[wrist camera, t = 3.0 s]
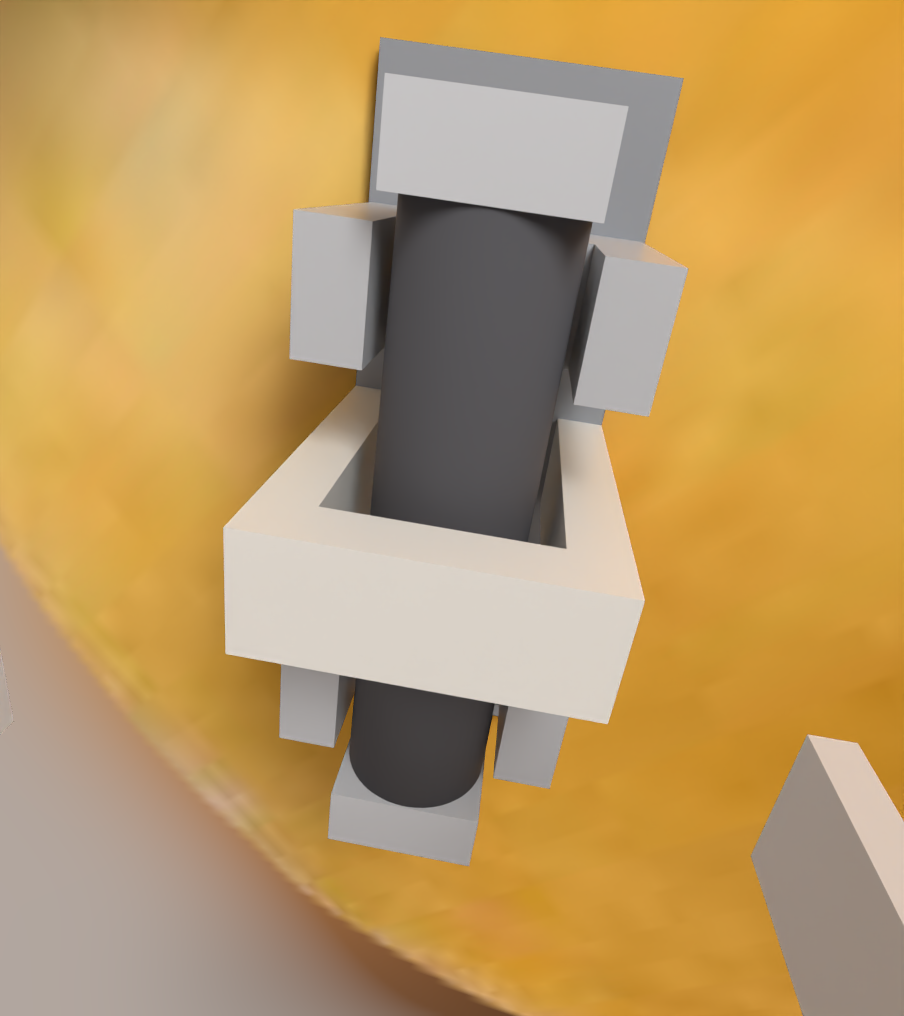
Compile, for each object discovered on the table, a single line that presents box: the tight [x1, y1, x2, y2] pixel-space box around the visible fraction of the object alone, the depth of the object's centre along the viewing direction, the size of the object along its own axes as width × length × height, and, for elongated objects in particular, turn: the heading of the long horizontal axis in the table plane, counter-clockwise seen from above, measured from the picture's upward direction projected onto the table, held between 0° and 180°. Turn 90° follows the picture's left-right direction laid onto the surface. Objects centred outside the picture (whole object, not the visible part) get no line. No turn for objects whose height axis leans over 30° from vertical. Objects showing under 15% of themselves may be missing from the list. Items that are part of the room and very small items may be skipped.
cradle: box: [279, 37, 688, 789], centre depth 20 cm, size 22×8×8 cm, turn 172°
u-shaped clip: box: [223, 386, 645, 724], centre depth 18 cm, size 3×8×10 cm, turn 82°
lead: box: [328, 73, 629, 866], centre depth 17 cm, size 19×4×4 cm, turn 172°
